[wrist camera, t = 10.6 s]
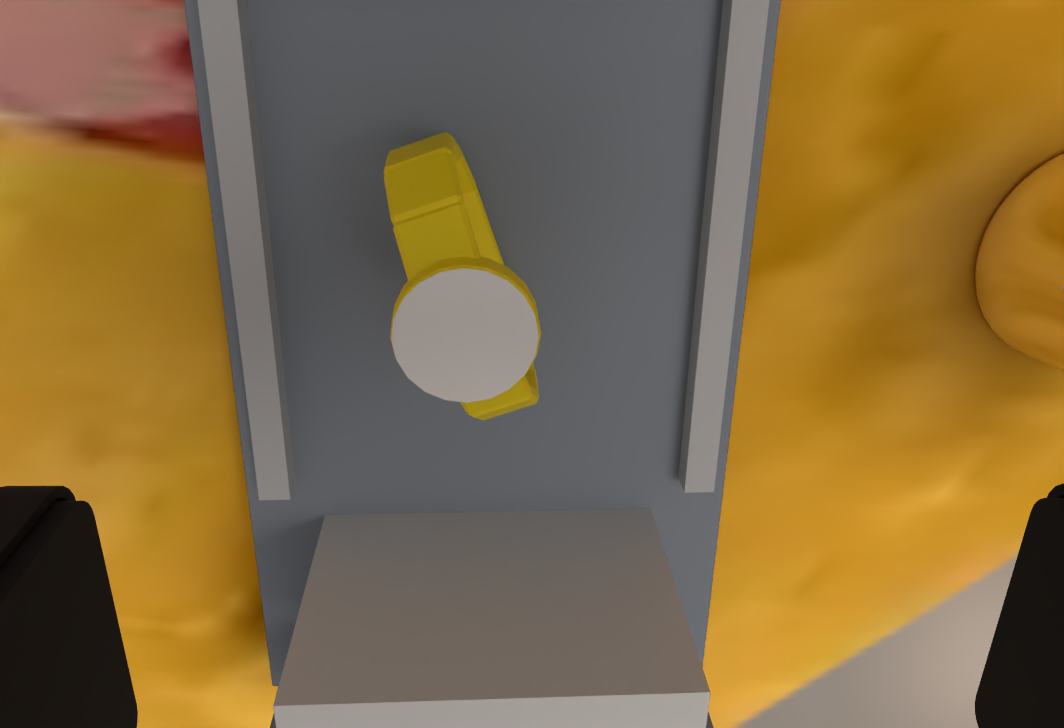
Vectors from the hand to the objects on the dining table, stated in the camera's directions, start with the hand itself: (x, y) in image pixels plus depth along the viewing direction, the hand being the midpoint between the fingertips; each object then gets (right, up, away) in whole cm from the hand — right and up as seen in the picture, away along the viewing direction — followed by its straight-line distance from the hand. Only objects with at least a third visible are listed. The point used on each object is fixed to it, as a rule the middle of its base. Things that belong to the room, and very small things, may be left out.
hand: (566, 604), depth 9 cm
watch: (-2, +5, +13) cm, 14 cm away
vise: (-1, +9, +13) cm, 15 cm away
